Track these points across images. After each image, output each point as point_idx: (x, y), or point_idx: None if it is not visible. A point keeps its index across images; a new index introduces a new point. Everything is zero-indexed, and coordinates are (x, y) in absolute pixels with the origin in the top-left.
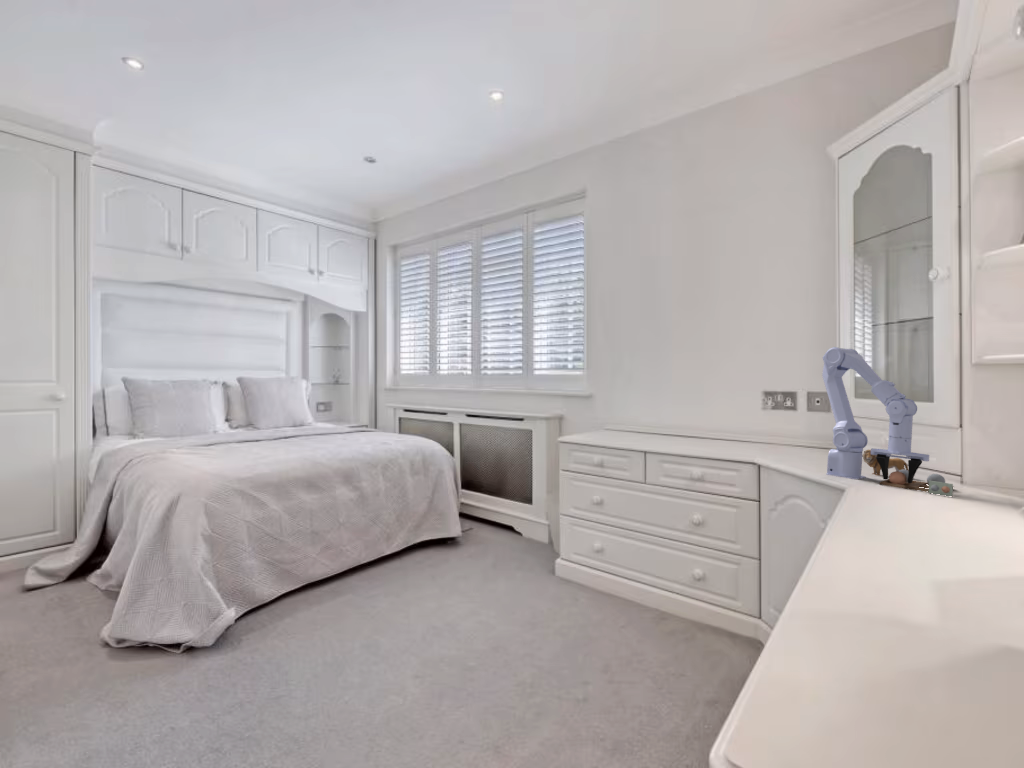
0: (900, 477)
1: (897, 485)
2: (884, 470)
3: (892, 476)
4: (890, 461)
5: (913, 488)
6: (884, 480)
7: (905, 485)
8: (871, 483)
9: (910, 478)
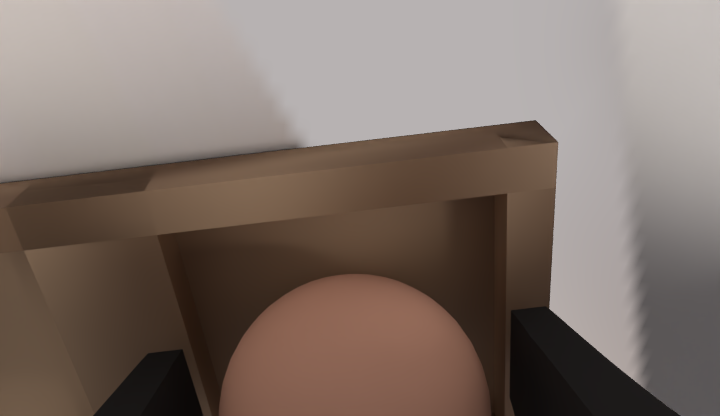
0: (268, 362)
1: (270, 168)
2: (606, 410)
3: (406, 332)
4: None
5: (34, 195)
6: None
7: (168, 231)
8: (665, 179)
9: (107, 406)
